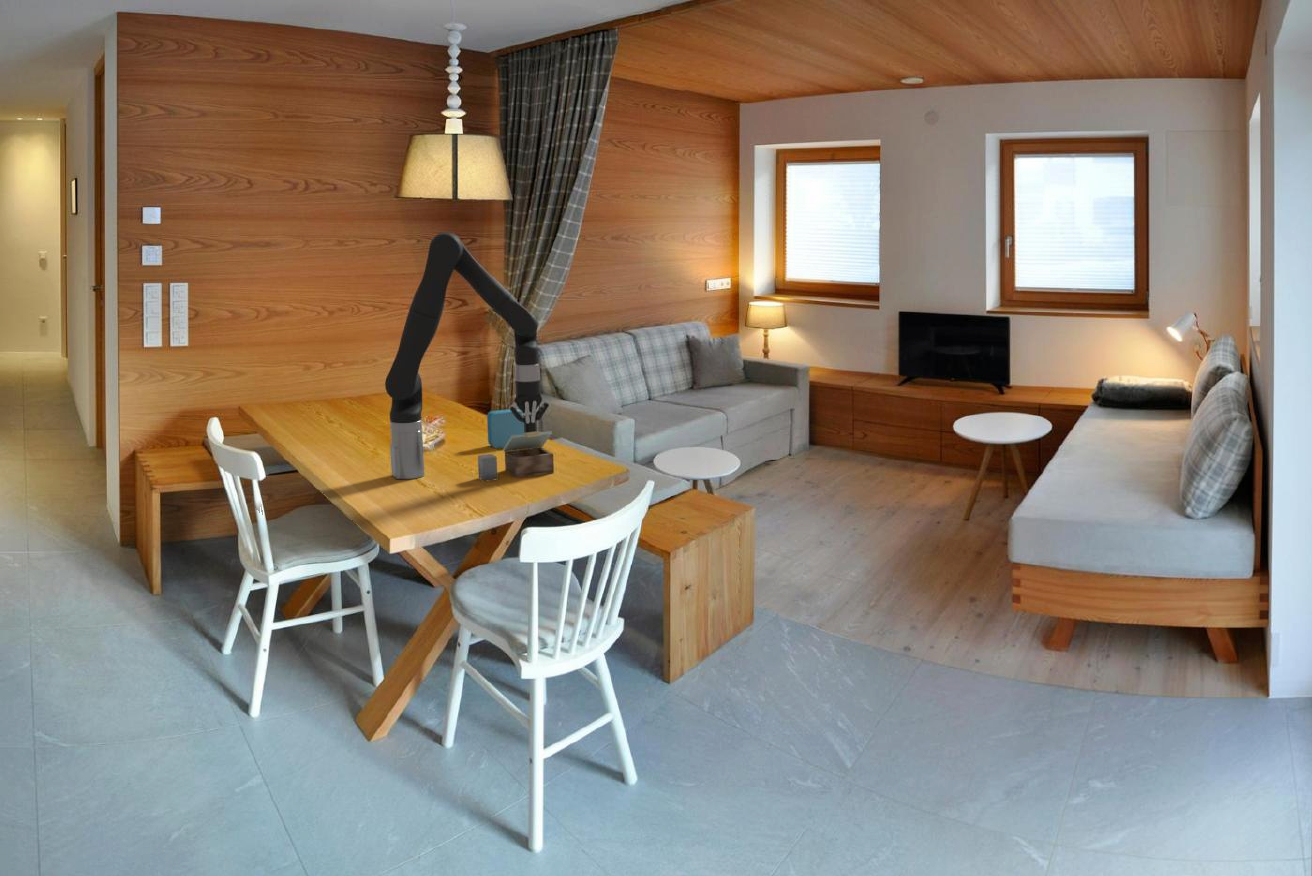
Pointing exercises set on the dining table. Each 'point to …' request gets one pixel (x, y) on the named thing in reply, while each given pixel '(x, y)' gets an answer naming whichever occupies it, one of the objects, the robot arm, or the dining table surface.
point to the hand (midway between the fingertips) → (529, 434)
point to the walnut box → (529, 462)
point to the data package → (503, 427)
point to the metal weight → (487, 467)
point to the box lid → (527, 440)
